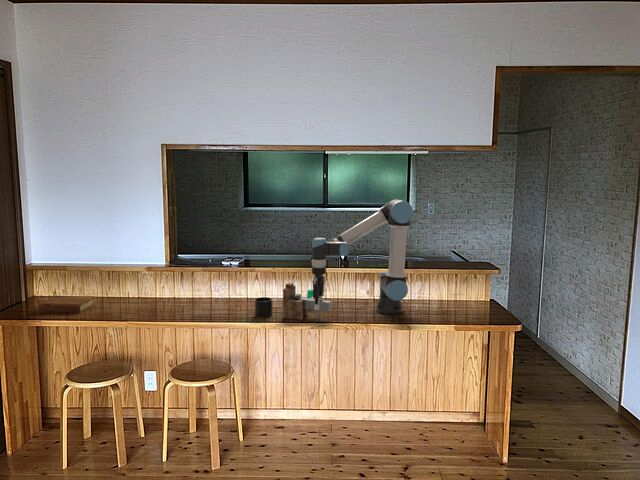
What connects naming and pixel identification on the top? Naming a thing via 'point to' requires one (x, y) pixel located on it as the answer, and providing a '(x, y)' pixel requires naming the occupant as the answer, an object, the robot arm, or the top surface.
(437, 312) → the top surface
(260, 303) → the mug
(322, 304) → the rail
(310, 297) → the camera mount
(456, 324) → the top surface
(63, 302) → the diary
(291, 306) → the brown wooden block stack
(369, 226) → the robot arm
